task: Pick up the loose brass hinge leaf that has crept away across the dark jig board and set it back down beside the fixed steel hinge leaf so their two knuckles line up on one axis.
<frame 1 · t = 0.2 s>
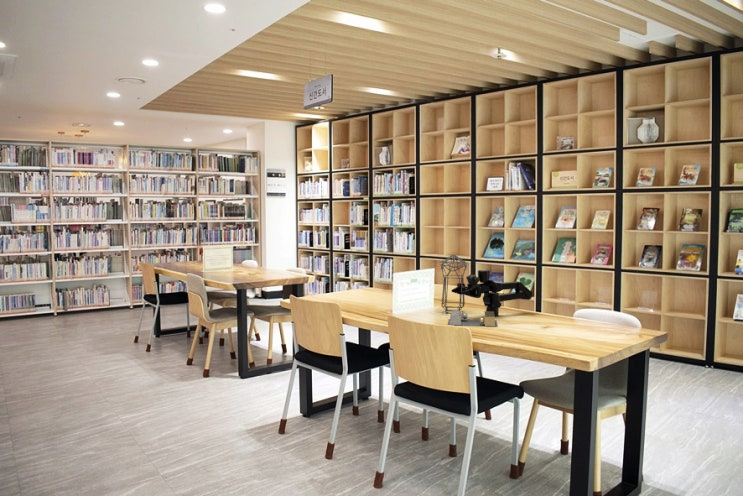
hand: (456, 291, 320), 17 cm above the table, tool horizontal, fingers open, 9 cm apart
geometric lantern: (453, 312, 349), on the table
jig board: (464, 324, 314), on the table
steel leaf: (459, 317, 314), on the jig board, point 4 cm above the table
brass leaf: (489, 323, 312), point 1 cm above the table, touching jig board
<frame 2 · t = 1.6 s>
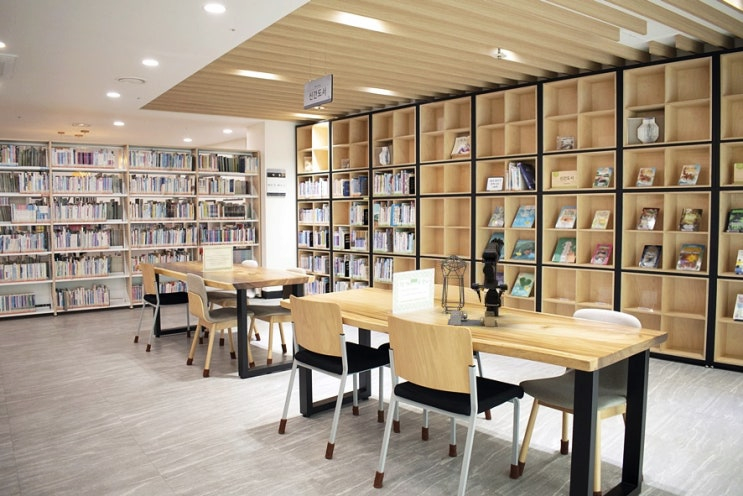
hand: (489, 302, 311), 12 cm above the table, tool pointing down, fingers open, 9 cm apart
nothing on the table moved.
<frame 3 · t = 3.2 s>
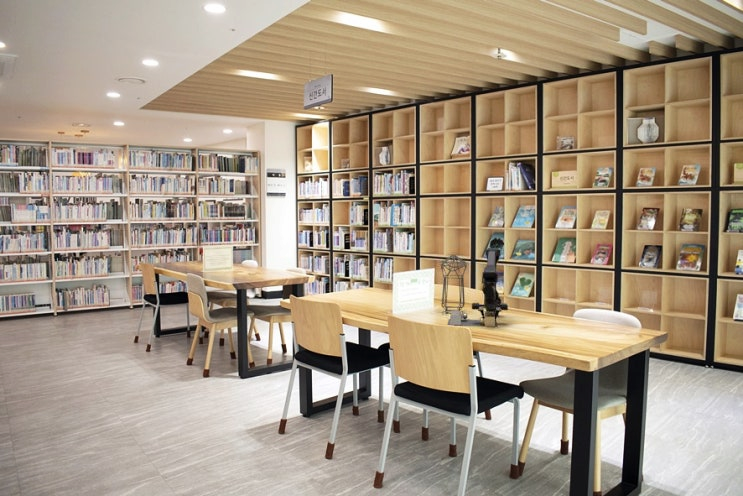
hand: (489, 322, 312), 2 cm above the table, tool pointing down, fingers closed on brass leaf, 5 cm apart
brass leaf: (489, 323, 312), point 1 cm above the table, touching gripper, jig board
everything else where it was.
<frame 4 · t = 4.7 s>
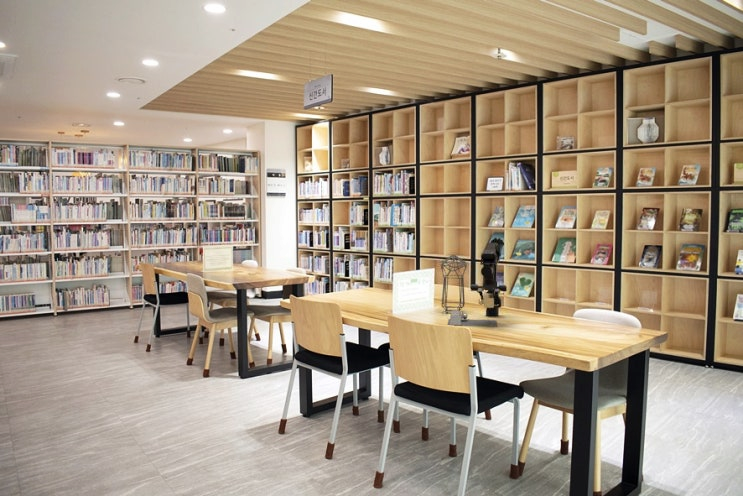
hand: (488, 303, 311), 11 cm above the table, tool pointing down, fingers closed on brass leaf, 5 cm apart
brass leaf: (488, 304, 311), point 11 cm above the table, touching gripper
everything else where it was.
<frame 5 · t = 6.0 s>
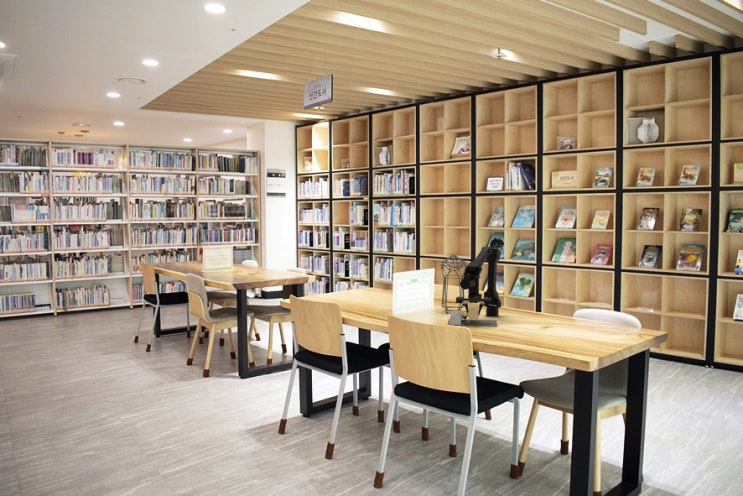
hand: (473, 316, 313), 5 cm above the table, tool pointing down, fingers closed on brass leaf, 5 cm apart
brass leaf: (473, 317, 313), point 4 cm above the table, touching gripper
everything else where it was.
when the fingers open (3 cm above the table, at t = 6.6 s): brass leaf drops 1 cm, resting on jig board.
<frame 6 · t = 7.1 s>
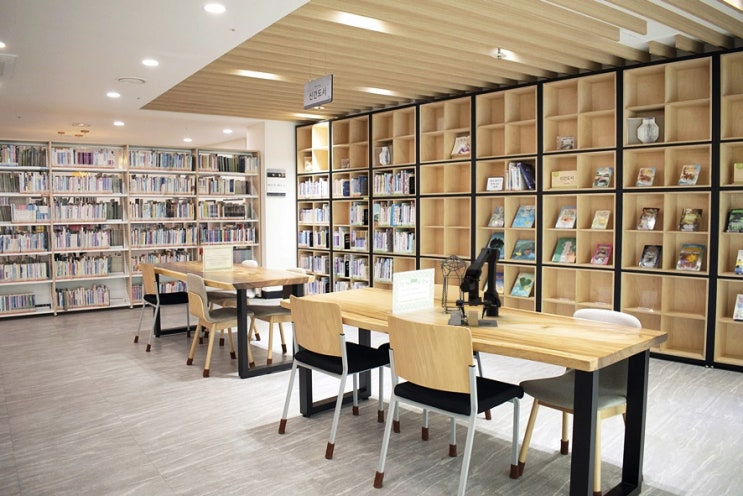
hand: (473, 319, 313), 3 cm above the table, tool pointing down, fingers open, 9 cm apart
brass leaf: (473, 322, 313), point 1 cm above the table, touching jig board
everything else where it was.
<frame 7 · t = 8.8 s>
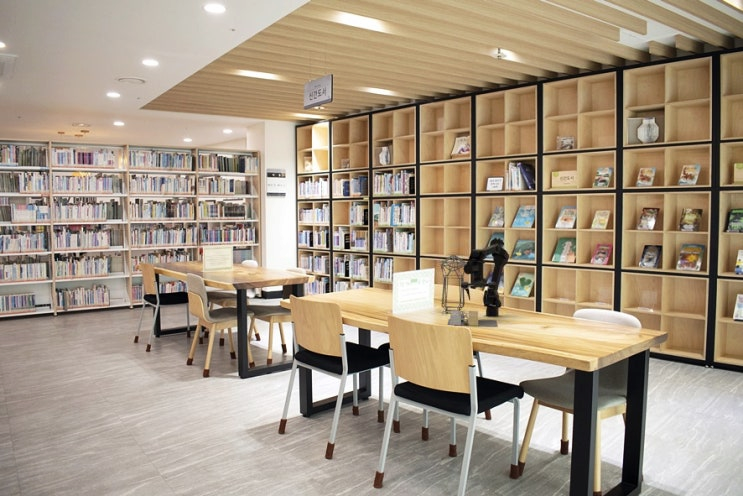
hand: (478, 300, 321), 12 cm above the table, tool pointing down, fingers open, 9 cm apart
nothing on the table moved.
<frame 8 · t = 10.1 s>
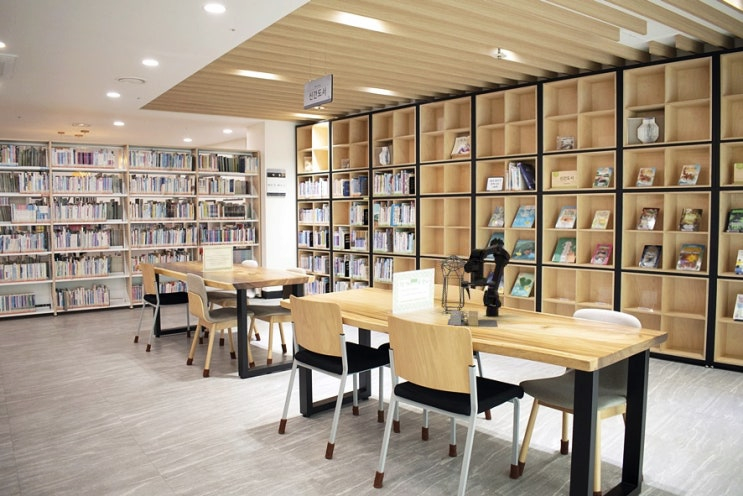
hand: (478, 299, 321), 12 cm above the table, tool pointing down, fingers open, 9 cm apart
nothing on the table moved.
at the end: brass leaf 0.0 cm from the target spot on the steel leaf, point 1.0 cm above the steel leaf's base; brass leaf tilted 0°; the gripper is holding nothing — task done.
